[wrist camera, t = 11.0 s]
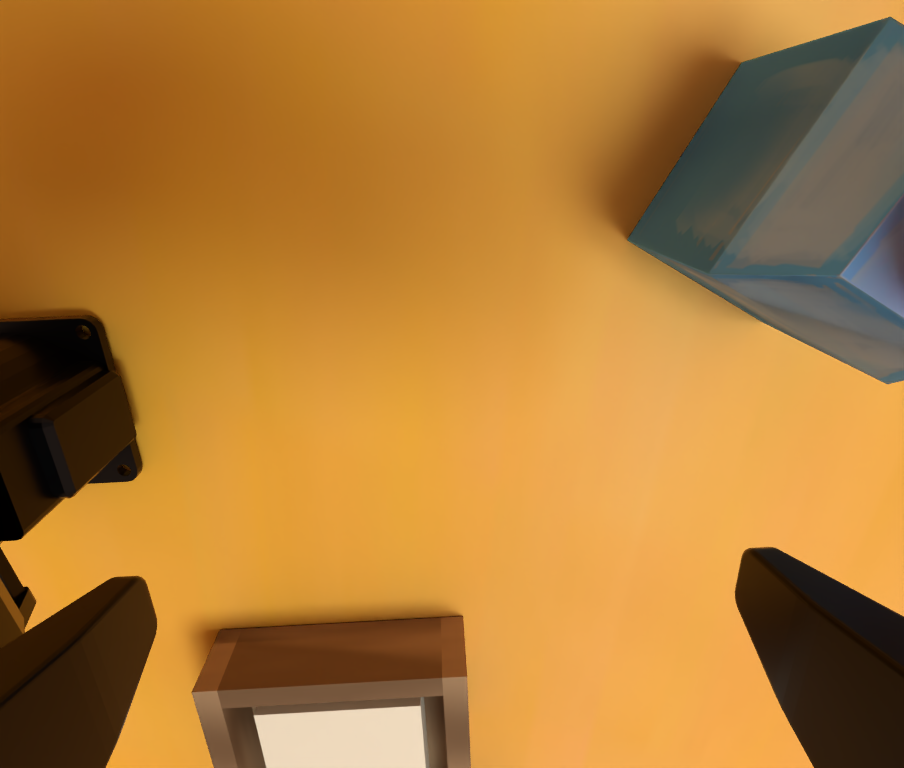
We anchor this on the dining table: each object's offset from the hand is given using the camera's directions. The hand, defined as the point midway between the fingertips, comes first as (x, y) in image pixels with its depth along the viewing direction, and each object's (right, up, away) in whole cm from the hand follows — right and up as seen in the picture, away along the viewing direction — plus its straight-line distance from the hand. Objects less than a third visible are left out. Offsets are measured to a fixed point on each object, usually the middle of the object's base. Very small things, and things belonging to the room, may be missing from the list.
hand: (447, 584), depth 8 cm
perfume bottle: (+10, +9, +11) cm, 18 cm away
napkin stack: (-5, -13, +18) cm, 23 cm away
